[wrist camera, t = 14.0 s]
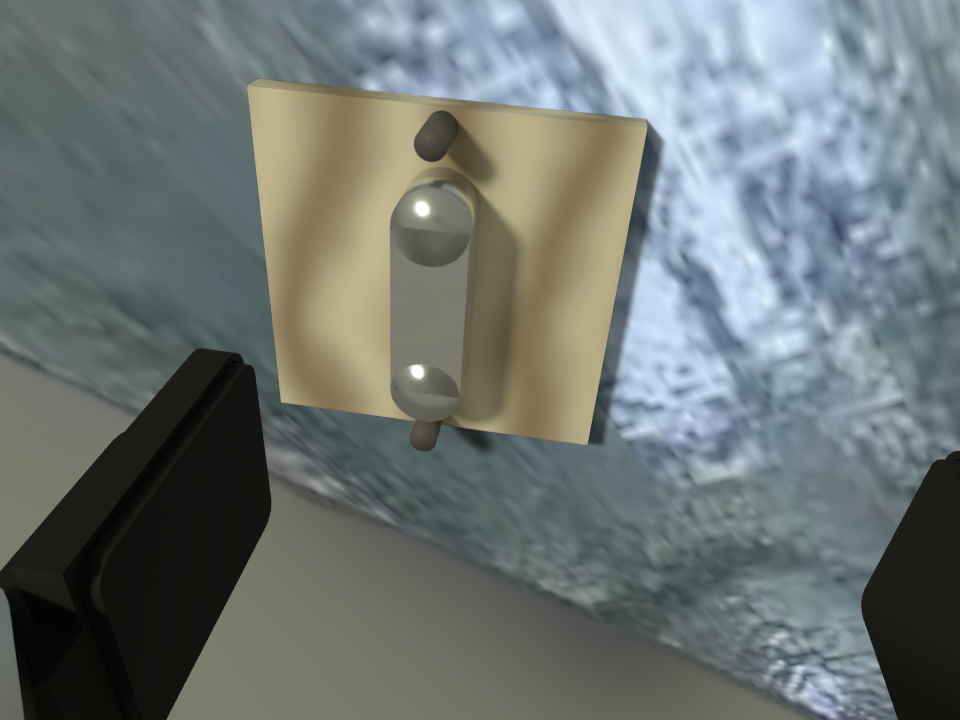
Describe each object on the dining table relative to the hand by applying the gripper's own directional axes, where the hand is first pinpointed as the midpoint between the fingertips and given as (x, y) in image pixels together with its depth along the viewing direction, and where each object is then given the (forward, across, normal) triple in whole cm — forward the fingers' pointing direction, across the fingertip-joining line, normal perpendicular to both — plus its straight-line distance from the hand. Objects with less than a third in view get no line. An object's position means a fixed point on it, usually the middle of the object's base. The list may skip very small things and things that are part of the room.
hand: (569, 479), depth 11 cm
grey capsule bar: (+29, +7, +13) cm, 32 cm away
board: (+30, +7, +13) cm, 34 cm away
